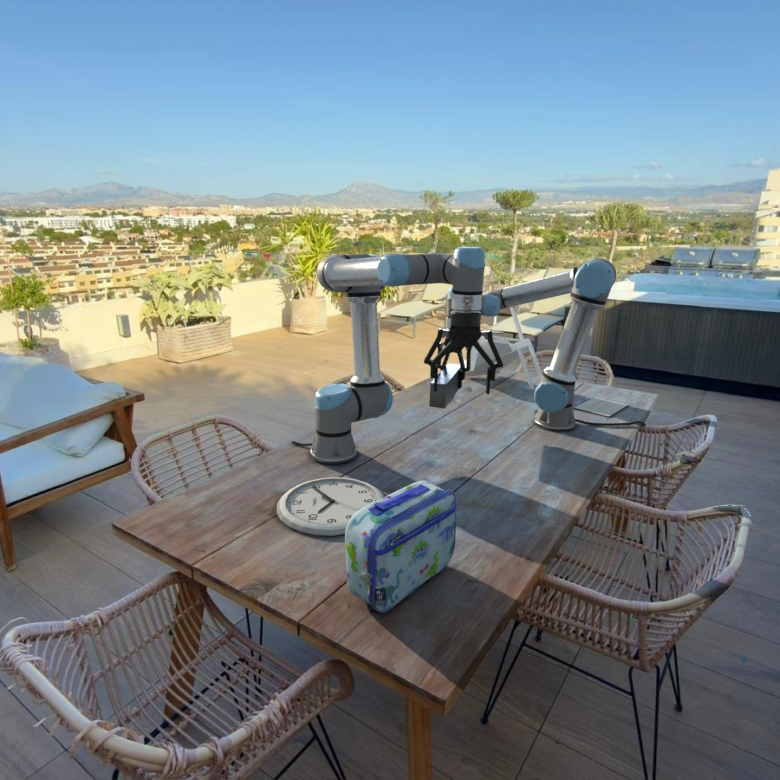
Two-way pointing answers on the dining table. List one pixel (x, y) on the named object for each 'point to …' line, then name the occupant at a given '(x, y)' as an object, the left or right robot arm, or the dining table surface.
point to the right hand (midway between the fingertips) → (452, 386)
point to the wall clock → (325, 504)
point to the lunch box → (399, 543)
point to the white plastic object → (504, 354)
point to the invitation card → (601, 406)
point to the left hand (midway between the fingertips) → (461, 391)
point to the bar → (445, 386)
